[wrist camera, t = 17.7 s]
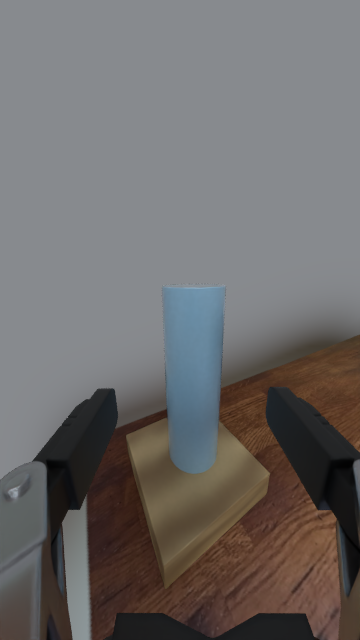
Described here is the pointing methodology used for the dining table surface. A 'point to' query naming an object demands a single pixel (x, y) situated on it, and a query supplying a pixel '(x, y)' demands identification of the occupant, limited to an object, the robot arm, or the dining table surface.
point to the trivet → (191, 495)
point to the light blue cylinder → (193, 372)
